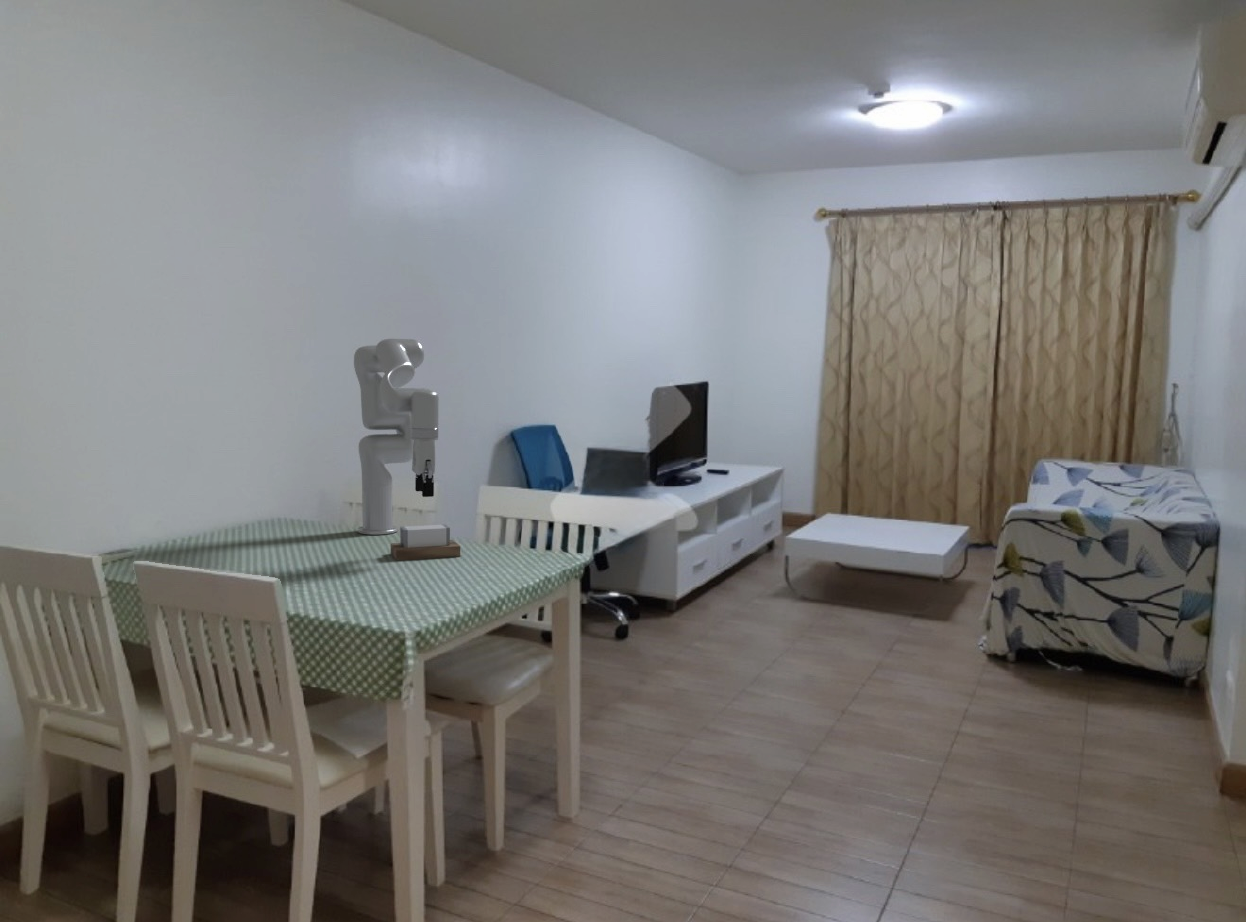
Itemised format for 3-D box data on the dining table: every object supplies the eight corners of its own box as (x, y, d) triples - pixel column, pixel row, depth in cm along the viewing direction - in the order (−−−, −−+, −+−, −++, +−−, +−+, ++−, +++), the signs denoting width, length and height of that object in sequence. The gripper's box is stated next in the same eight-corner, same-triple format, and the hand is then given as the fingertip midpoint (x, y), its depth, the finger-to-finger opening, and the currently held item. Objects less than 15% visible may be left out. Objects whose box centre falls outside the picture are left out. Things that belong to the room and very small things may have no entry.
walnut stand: (390, 553, 277) (390, 543, 277) (452, 549, 284) (452, 539, 284) (396, 560, 268) (396, 550, 268) (460, 556, 275) (460, 546, 275)
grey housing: (400, 544, 276) (400, 526, 276) (445, 541, 281) (445, 524, 281) (404, 548, 271) (404, 530, 270) (449, 545, 276) (449, 527, 275)
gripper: (405, 431, 279) (405, 489, 281) (417, 437, 263) (417, 499, 265) (431, 431, 282) (431, 488, 284) (444, 437, 266) (444, 498, 268)
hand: (424, 493), depth 275 cm, fingers open, 9 cm apart
